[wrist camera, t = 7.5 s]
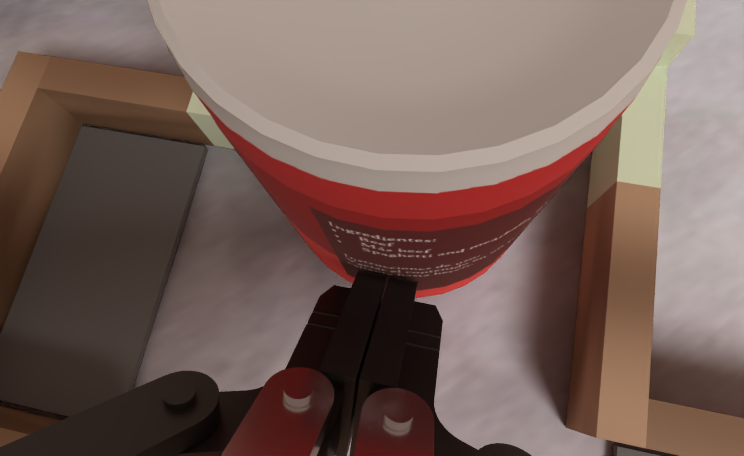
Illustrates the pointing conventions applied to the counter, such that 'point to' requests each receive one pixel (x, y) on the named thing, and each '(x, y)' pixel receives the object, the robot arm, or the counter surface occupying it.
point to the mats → (101, 273)
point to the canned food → (415, 114)
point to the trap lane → (170, 120)
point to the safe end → (617, 149)
